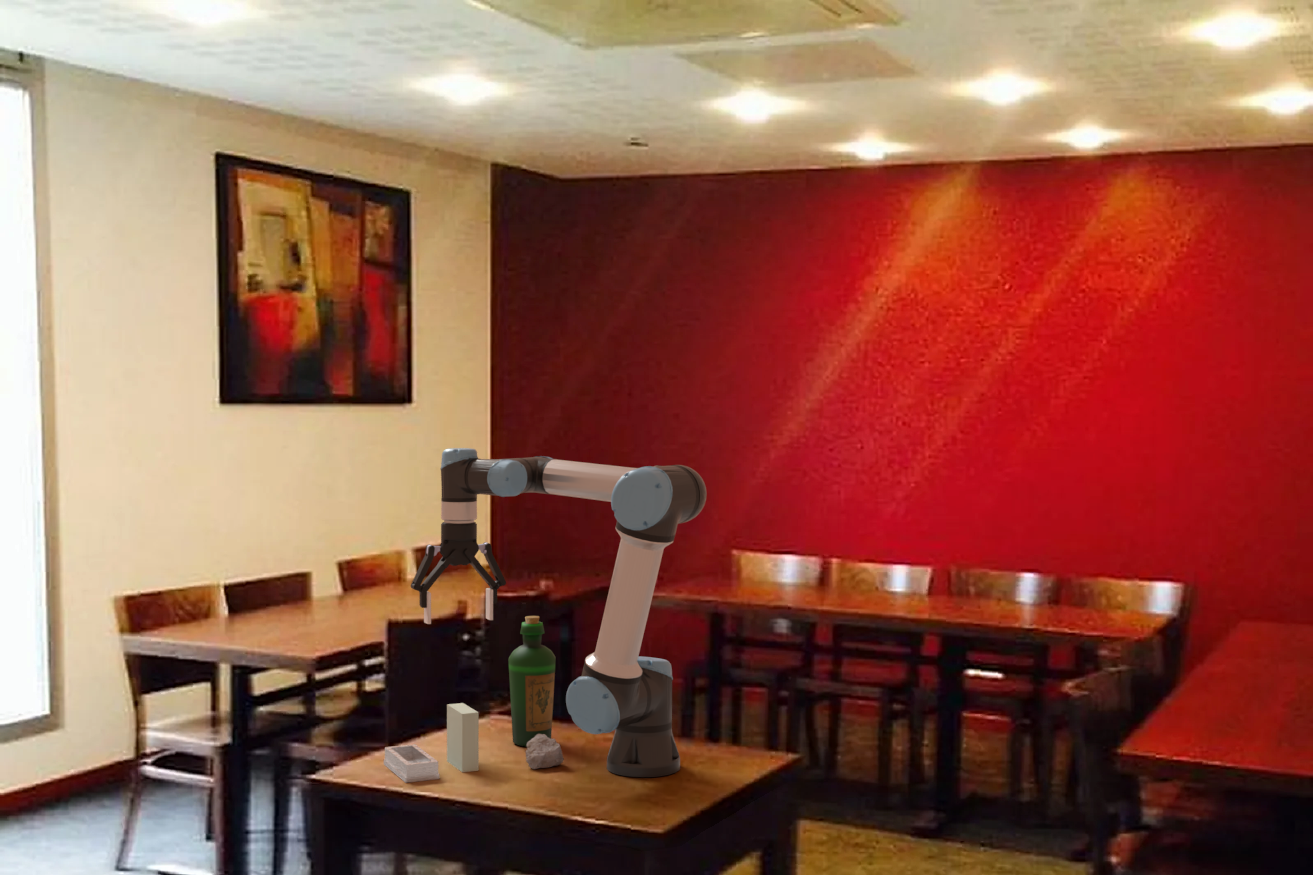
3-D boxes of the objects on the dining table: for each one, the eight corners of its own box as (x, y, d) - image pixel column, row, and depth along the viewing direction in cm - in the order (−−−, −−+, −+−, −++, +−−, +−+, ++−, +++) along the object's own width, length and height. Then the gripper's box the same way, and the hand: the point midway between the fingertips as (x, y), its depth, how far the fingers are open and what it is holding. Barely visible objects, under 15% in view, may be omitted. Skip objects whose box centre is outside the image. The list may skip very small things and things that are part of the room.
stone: (515, 761, 312) (515, 733, 312) (551, 757, 316) (552, 730, 315) (529, 772, 303) (529, 743, 303) (566, 768, 306) (566, 740, 306)
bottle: (548, 750, 321) (549, 621, 320) (501, 747, 323) (501, 619, 322) (561, 739, 332) (562, 614, 331) (515, 736, 334) (516, 612, 333)
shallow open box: (439, 778, 297) (439, 761, 297) (405, 782, 294) (405, 765, 294) (416, 760, 312) (416, 744, 312) (383, 764, 309) (383, 747, 309)
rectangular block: (478, 770, 304) (478, 712, 304) (462, 772, 303) (462, 714, 302) (462, 759, 313) (462, 702, 313) (447, 761, 312) (446, 704, 311)
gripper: (509, 517, 322) (508, 615, 323) (396, 521, 312) (396, 622, 313) (520, 520, 316) (520, 620, 316) (405, 524, 305) (405, 627, 306)
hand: (458, 621), depth 315 cm, fingers open, 13 cm apart
